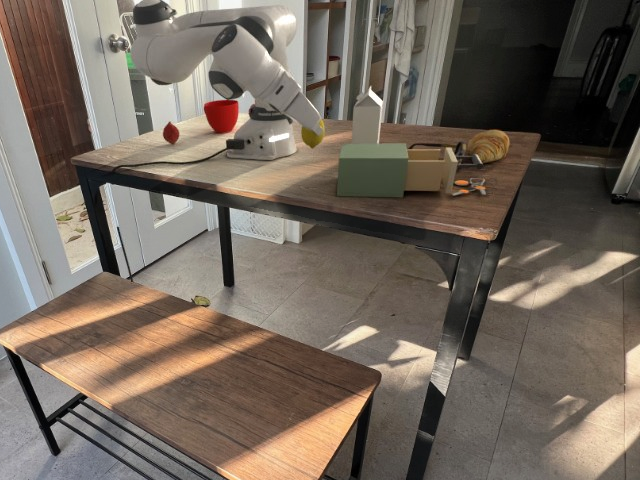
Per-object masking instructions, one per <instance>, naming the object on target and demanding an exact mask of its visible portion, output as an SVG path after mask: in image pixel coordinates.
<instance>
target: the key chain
mask: <svg viewBox="0 0 640 480" xmlns="http://www.w3.org/2000/svg"><path fill="white" fill-rule="evenodd" d="M472 180H477V181H481V182H475V183H474V182H472ZM485 181H486V179H484V178H477V177H476V178H475V177H471V178H469V181H468V180H462V179H459V180H454V184H455V186H456V185H457V186H461V187H465V186H466V187H467V186H469V185H470V187H471V188H472V189H459V190H458V191H457V192H454V193H451V196H453V197H455V196H458V195H461V194H469V192H473V191H476V190H478V191H479V192H480V194H481V195H482V196H486V195H487V193H486V186H483V185H484V183H485Z"/></svg>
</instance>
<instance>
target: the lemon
mask: <svg viewBox="0 0 640 480" xmlns="http://www.w3.org/2000/svg"><path fill="white" fill-rule="evenodd" d="M318 124H319V125H320V126H321V127H322V128H323V130H324V131H323V133H322V134H321V135H320V136H318V135H316V134H315V133H314V132H313V131H310V130H308V129H307V128H305V127H304V126H302V125H301V133H300V134H301V135H300V136H301V140H302V142H303V143H304V144H305V145H306V146H308V147H309V148H310V149H315V148H316V147H317V146H319V145H320V144H321V143H322V142H323V140H324V137H325V132H326V131H325V129H326V128H325V124H324V121H323V119H322V118H321V120H320V122H319V123H318Z"/></svg>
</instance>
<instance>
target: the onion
mask: <svg viewBox="0 0 640 480" xmlns="http://www.w3.org/2000/svg"><path fill="white" fill-rule="evenodd" d="M162 137H163V140H165V141H166V142H167V143H169V144H170V145H171V146H174V145H175V144H176V143H177V141H179V138H180V130H179V129H178V127H177V126H176V125H174V124H173V123H172V122H171V121H168V122H167V124H166V125H165V126H164V128H163V131H162Z"/></svg>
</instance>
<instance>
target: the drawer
mask: <svg viewBox="0 0 640 480" xmlns="http://www.w3.org/2000/svg"><path fill="white" fill-rule="evenodd" d="M407 153H408V165H407V172H406V179H405V186H404V191H409V192H411V191H414V192H415V191H416V192H419V191H420V192H440V190H441V184H442V187H443V190H444V193H445V195H446V194H449V195H452V191H453V187H454V184H455V176H456V172H457V171H456V168H457V167H458V168H475V169H477V170H482V169H483V168H484V163H482V162H481V160H480V159H479V157H478V155H477V154H473V155H472V156H471V155H464V156H455V155H454V153H455V151H453V148H446V147H445V150H444V154H443V155H444V156H443V158H444V160H443V161H442V160H439V158H440V155H441V149H440V148H439V149H437V148H436V149H434V148H431V149H430V148H429V149H427V148H424V149H422V148H420V149H419V148H418V149H413V148H412V149H408V148H407ZM457 159H462V160H471V161H472V163H460V164H457V163H458V161H457Z"/></svg>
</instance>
